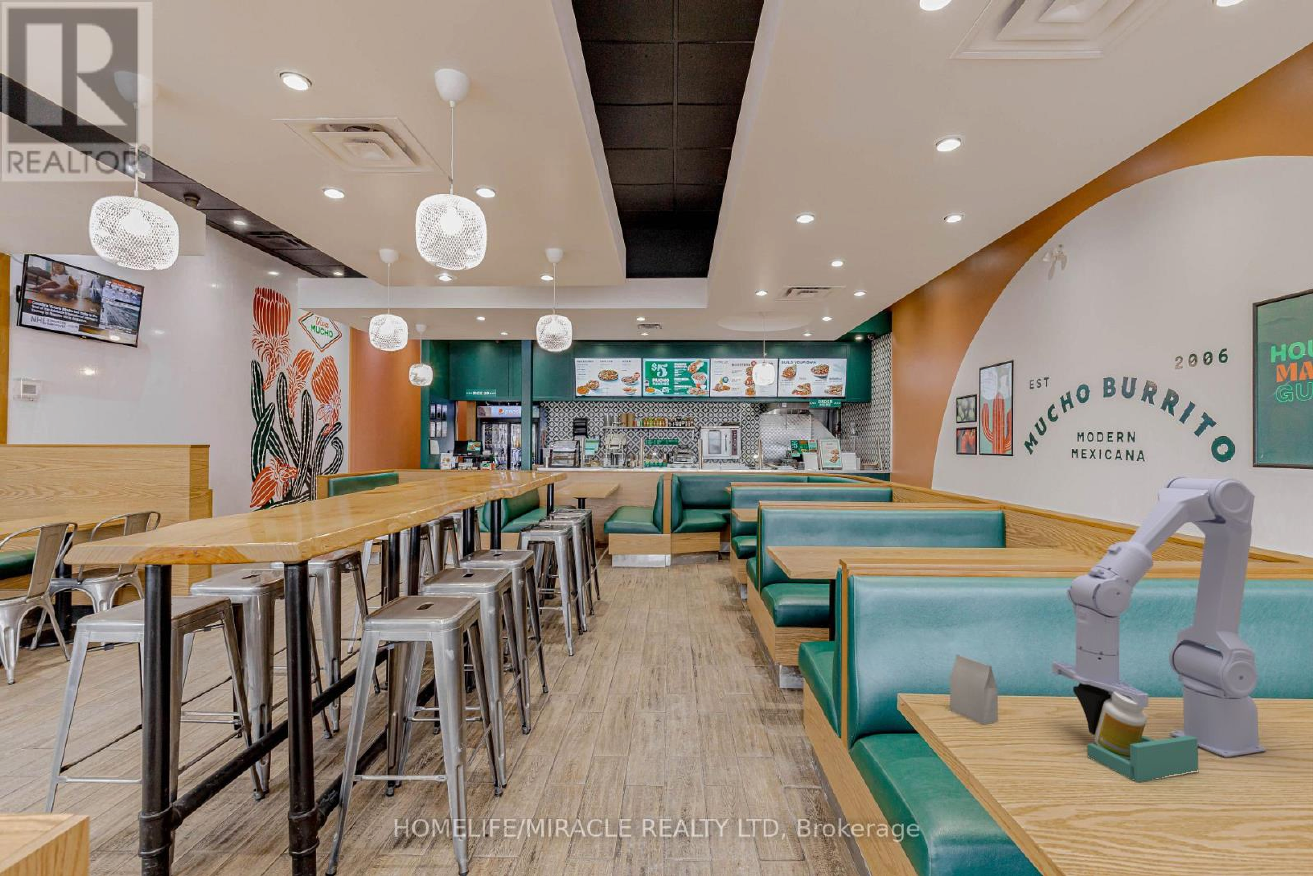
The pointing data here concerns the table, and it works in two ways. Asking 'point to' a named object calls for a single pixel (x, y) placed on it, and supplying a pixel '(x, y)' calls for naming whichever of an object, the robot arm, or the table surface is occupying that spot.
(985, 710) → the tea bag
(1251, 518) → the robot arm
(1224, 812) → the table surface
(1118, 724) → the supplement bottle
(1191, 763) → the dock
